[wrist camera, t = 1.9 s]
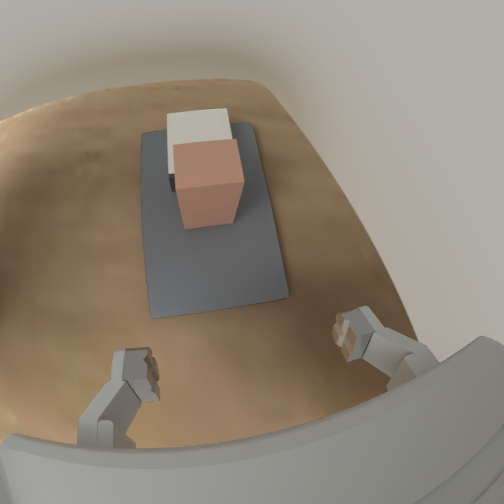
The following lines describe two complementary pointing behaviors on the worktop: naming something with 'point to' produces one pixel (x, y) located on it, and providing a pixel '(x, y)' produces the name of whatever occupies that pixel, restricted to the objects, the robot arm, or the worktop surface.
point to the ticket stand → (207, 238)
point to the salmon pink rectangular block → (208, 182)
